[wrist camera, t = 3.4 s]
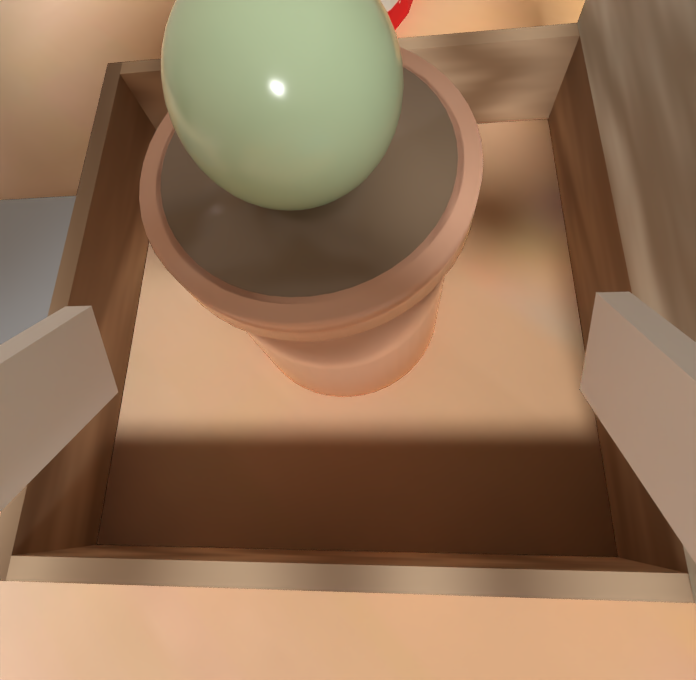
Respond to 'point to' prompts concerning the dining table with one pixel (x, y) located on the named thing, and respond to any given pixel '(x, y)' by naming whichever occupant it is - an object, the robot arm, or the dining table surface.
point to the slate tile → (30, 258)
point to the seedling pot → (310, 183)
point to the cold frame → (588, 272)
